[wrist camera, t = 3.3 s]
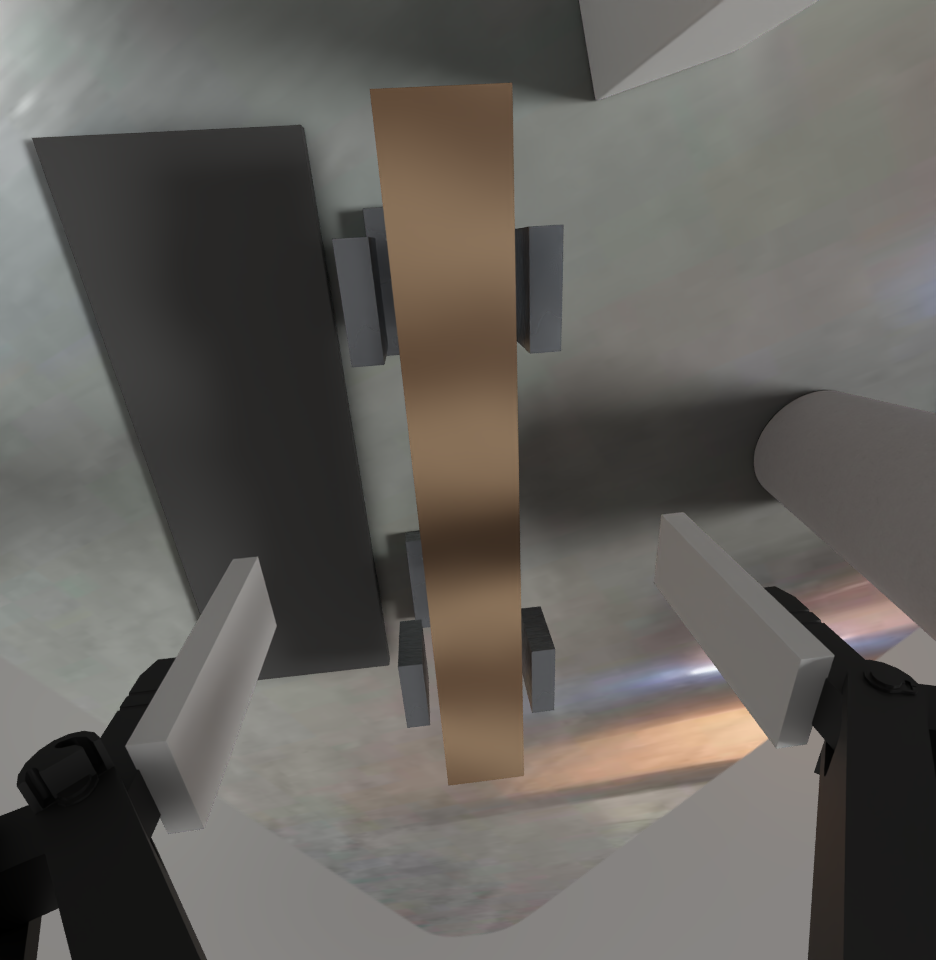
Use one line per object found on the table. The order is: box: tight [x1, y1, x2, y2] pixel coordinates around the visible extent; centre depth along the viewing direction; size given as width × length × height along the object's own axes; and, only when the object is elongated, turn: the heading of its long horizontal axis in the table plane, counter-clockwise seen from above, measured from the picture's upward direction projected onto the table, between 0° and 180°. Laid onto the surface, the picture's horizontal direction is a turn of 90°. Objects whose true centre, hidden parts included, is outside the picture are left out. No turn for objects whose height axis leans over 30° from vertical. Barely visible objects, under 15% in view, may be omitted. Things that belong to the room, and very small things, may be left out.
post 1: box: [332, 207, 564, 367], centre depth 19 cm, size 6×7×9 cm
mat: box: [32, 125, 390, 680], centre depth 26 cm, size 28×10×1 cm, turn 3°
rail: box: [370, 83, 524, 785], centre depth 20 cm, size 26×4×4 cm, turn 3°
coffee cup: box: [754, 390, 936, 641], centre depth 22 cm, size 10×10×15 cm
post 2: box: [398, 531, 555, 728], centre depth 26 cm, size 6×7×9 cm
